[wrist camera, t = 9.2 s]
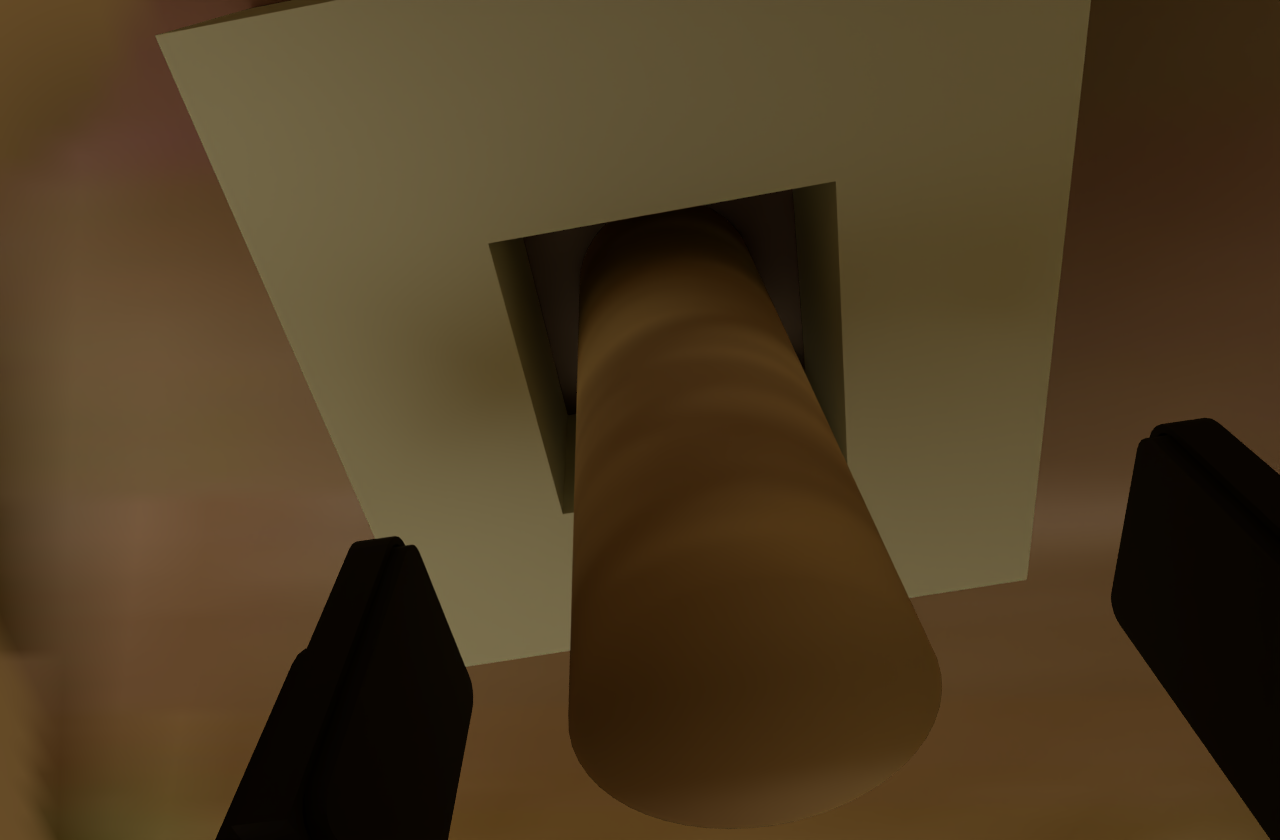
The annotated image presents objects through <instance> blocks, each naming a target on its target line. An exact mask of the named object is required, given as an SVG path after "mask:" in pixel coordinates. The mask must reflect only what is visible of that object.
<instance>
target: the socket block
mask: <svg viewBox="0 0 1280 840" xmlns="http://www.w3.org/2000/svg"><path fill="white" fill-rule="evenodd" d="M1090 5H1091V0H291V1H286V2H280V3H275V4H270V5H265V6H260V7H255V8H250V9H246V10H243V11H239V12H236V13H232V14H229V15H225V16H222V17H218V18H215V19H211V20H208V21H204V22H201V23H197V24H194V25H190V26H187V27H183V28H180V29H176V30H173V31H169V32H166V33H162V34H159V35H155V37H156V39H157V41H158V44H159V46H160V48H161V50H162V53H163V55H164V57H165V60H166V62H167V64H168V66H169V69H170V71H171V73H172V76H173V78H174V80H175V82H176V85H177V87H178V89H179V92H180V94H181V96H182V98H183V101H184V103H185V105H186V108H187V110H188V112H189V114H190V117H191V119H192V121H193V124H194V126H195V128H196V130H197V133H198V135H199V137H200V140H201V142H202V144H203V146H204V149H205V151H206V153H207V156H208V158H209V160H210V162H211V165H212V167H213V169H214V172H215V174H216V176H217V178H218V181H219V183H220V185H221V188H222V190H223V192H224V194H225V197H226V199H227V201H228V204H229V206H230V208H231V210H232V213H233V215H234V217H235V219H236V222H237V224H238V226H239V229H240V231H241V233H242V235H243V238H244V240H245V242H246V245H247V247H248V249H249V251H250V254H251V256H252V258H253V261H254V263H255V265H256V267H257V270H258V272H259V274H260V277H261V279H262V281H263V283H264V286H265V288H266V290H267V293H268V295H269V297H270V299H271V302H272V304H273V306H274V309H275V311H276V313H277V315H278V318H279V320H280V322H281V325H282V327H283V329H284V331H285V334H286V336H287V338H288V341H289V343H290V345H291V347H292V350H293V352H294V354H295V357H296V359H297V361H298V363H299V366H300V368H301V370H302V373H303V375H304V377H305V379H306V382H307V384H308V386H309V389H310V391H311V393H312V395H313V398H314V400H315V402H316V404H317V407H318V409H319V411H320V414H321V416H322V418H323V420H324V423H325V425H326V427H327V430H328V432H329V434H330V436H331V439H332V441H333V443H334V446H335V448H336V450H337V452H338V455H339V457H340V459H341V462H342V464H343V466H344V468H345V471H346V473H347V475H348V478H349V480H350V482H351V484H352V487H353V489H354V491H355V494H356V496H357V498H358V500H359V503H360V505H361V507H362V510H363V512H364V514H365V516H366V519H367V521H368V523H369V526H370V528H371V530H372V532H373V535H374V537H375V539H378V538H385V537H391V536H397V537H400V538H401V539H402V540H403V542H404V544H405V545H415V546H416V547H417V548H418V550H419V552H420V555H421V557H422V560H423V562H424V565H425V567H426V570H427V572H428V575H429V577H430V580H431V582H432V585H433V587H434V590H435V592H436V595H437V597H438V600H439V602H440V604H441V607H442V609H443V612H444V614H445V617H446V619H447V622H448V624H449V627H450V629H451V632H452V634H453V637H454V639H455V642H456V644H457V647H458V649H459V652H460V654H461V657H462V659H463V662H464V664H465V667H467V666H474V665H480V664H487V663H493V662H499V661H506V660H512V659H519V658H525V657H532V656H538V655H545V654H551V653H557V652H564V651H570V637H571V599H572V561H573V523H574V485H575V447H576V414H572V415H568V414H567V410H566V406H565V402H564V398H563V394H562V391H561V387H560V383H559V379H558V375H557V371H556V367H555V363H554V359H553V355H552V351H551V347H550V343H549V339H548V335H547V331H546V327H545V323H544V319H543V315H542V311H541V307H540V303H539V299H538V295H537V291H536V287H535V283H534V279H533V275H532V271H531V267H530V263H529V259H528V255H527V251H526V247H525V243H524V239H523V237H527V236H533V235H538V234H544V233H549V232H555V231H561V230H566V229H572V228H577V227H583V226H589V225H594V224H600V223H605V222H611V221H616V220H622V219H628V218H633V217H639V216H644V215H650V214H656V213H661V212H667V211H672V210H678V209H683V208H689V207H695V206H700V205H706V204H711V203H717V202H722V201H728V200H734V199H739V198H745V197H750V196H756V195H762V194H767V193H773V192H778V191H784V190H789V189H793V203H794V218H795V232H796V247H797V261H798V276H799V290H800V305H801V319H802V334H803V348H804V363H805V374H806V376H807V378H808V381H809V383H810V385H811V387H812V389H813V391H814V393H815V396H816V398H817V400H818V402H819V404H820V406H821V409H822V411H823V413H824V415H825V417H826V419H827V422H828V424H829V426H830V428H831V430H832V432H833V435H834V437H835V439H836V441H837V443H838V445H839V448H840V450H841V452H842V454H843V456H844V458H845V461H846V463H847V465H848V467H849V469H850V471H851V473H852V476H853V478H854V480H855V482H856V484H857V486H858V489H859V491H860V493H861V495H862V497H863V499H864V502H865V504H866V506H867V508H868V510H869V512H870V515H871V517H872V519H873V521H874V523H875V525H876V528H877V530H878V532H879V534H880V536H881V538H882V540H883V543H884V545H885V547H886V549H887V551H888V553H889V556H890V558H891V560H892V562H893V564H894V566H895V569H896V571H897V573H898V575H899V577H900V579H901V582H902V584H903V586H904V588H905V590H906V592H907V595H908V597H909V598H912V597H918V596H925V595H931V594H938V593H944V592H951V591H957V590H964V589H970V588H976V587H983V586H989V585H996V584H1002V583H1009V582H1015V581H1022V580H1027V574H1028V565H1029V556H1030V547H1031V538H1032V528H1033V519H1034V510H1035V501H1036V492H1037V483H1038V474H1039V465H1040V456H1041V447H1042V438H1043V429H1044V420H1045V411H1046V402H1047V393H1048V384H1049V375H1050V366H1051V357H1052V348H1053V339H1054V330H1055V321H1056V312H1057V303H1058V294H1059V285H1060V276H1061V267H1062V257H1063V248H1064V239H1065V230H1066V221H1067V212H1068V203H1069V194H1070V185H1071V176H1072V167H1073V158H1074V149H1075V140H1076V131H1077V122H1078V113H1079V104H1080V95H1081V86H1082V77H1083V68H1084V59H1085V50H1086V41H1087V32H1088V23H1089V14H1090Z"/></svg>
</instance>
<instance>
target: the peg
mask: <svg viewBox="0 0 1280 840" xmlns="http://www.w3.org/2000/svg"><path fill="white" fill-rule="evenodd" d="M941 694H942V680H941V672H940V668H939V664H938V660H937V657H936V655H935V653H934V651H933V649H932V646H931V644H930V642H929V640H928V638H927V636H926V633H925V631H924V629H923V627H922V625H921V623H920V620H919V618H918V616H917V614H916V612H915V610H914V608H913V605H912V603H911V601H910V599H909V597H908V595H907V592H906V590H905V588H904V586H903V584H902V582H901V579H900V577H899V575H898V573H897V571H896V569H895V566H894V564H893V562H892V560H891V558H890V556H889V553H888V551H887V549H886V547H885V545H884V543H883V540H882V538H881V536H880V534H879V532H878V530H877V528H876V525H875V523H874V521H873V519H872V517H871V515H870V512H869V510H868V508H867V506H866V504H865V502H864V499H863V497H862V495H861V493H860V491H859V489H858V486H857V484H856V482H855V480H854V478H853V476H852V473H851V471H850V469H849V467H848V465H847V463H846V461H845V458H844V456H843V454H842V452H841V450H840V448H839V445H838V443H837V441H836V439H835V437H834V435H833V432H832V430H831V428H830V426H829V424H828V422H827V419H826V417H825V415H824V413H823V411H822V409H821V406H820V404H819V402H818V400H817V398H816V396H815V393H814V391H813V389H812V387H811V385H810V383H809V381H808V378H807V376H806V374H805V372H804V370H803V368H802V365H801V363H800V361H799V359H798V357H797V355H796V352H795V350H794V348H793V346H792V344H791V342H790V339H789V337H788V335H787V333H786V331H785V329H784V326H783V324H782V322H781V320H780V318H779V316H778V314H777V311H776V309H775V307H774V305H773V303H772V301H771V298H770V296H769V294H768V292H767V290H766V288H765V285H764V283H763V281H762V279H761V277H760V275H759V272H758V270H757V268H756V266H755V264H754V262H753V259H752V257H751V255H750V253H749V251H748V249H747V247H746V245H745V243H744V241H743V239H742V237H741V236H740V234H739V233H738V231H737V230H736V229H735V228H734V227H733V226H732V224H731V223H730V222H729V221H727V220H726V219H725V218H724V217H723V216H721V215H720V214H718V213H717V212H715V211H714V210H712V209H710V208H708V207H706V206H703V205H700V206H695V207H689V208H683V209H678V210H672V211H667V212H661V213H656V214H650V215H644V216H639V217H633V218H628V219H622V220H616V221H611V222H608V223H607V224H606V225H605V226H604V227H603V228H602V229H601V230H600V231H599V233H598V234H597V235H596V236H595V238H594V239H593V241H592V243H591V244H590V246H589V248H588V250H587V252H586V255H585V257H584V260H583V264H582V267H581V274H580V294H579V332H578V370H577V409H576V447H575V485H574V523H573V561H572V599H571V637H570V675H569V713H568V717H569V734H570V739H571V743H572V747H573V749H574V752H575V754H576V756H577V758H578V761H579V762H580V764H581V765H582V767H583V768H584V770H585V771H586V773H587V774H588V775H589V776H590V777H591V778H592V780H593V781H594V782H595V783H596V784H597V785H598V786H599V787H600V788H602V789H603V790H604V791H605V792H607V793H608V794H609V795H611V796H612V797H613V798H615V799H616V800H618V801H620V802H621V803H623V804H625V805H627V806H628V807H630V808H632V809H635V810H637V811H639V812H642V813H644V814H646V815H649V816H652V817H655V818H658V819H661V820H664V821H668V822H673V823H678V824H682V825H687V826H695V827H703V828H718V829H741V828H756V827H765V826H773V825H778V824H784V823H789V822H794V821H797V820H801V819H805V818H809V817H812V816H815V815H818V814H821V813H824V812H827V811H830V810H832V809H835V808H837V807H839V806H842V805H844V804H846V803H848V802H851V801H853V800H855V799H857V798H858V797H860V796H862V795H864V794H866V793H867V792H869V791H871V790H872V789H874V788H875V787H877V786H878V785H880V784H881V783H883V782H884V781H886V780H887V779H888V778H890V777H891V776H892V775H893V774H894V773H896V772H897V771H898V770H899V769H900V768H901V767H903V766H904V765H905V763H906V762H907V761H908V760H909V759H910V758H911V757H912V756H913V755H914V754H915V753H916V752H917V750H918V749H919V747H920V746H921V745H922V743H923V742H924V741H925V739H926V738H927V736H928V734H929V732H930V730H931V728H932V726H933V724H934V722H935V720H936V717H937V713H938V710H939V707H940V702H941Z"/></svg>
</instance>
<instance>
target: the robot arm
mask: <svg viewBox="0 0 1280 840" xmlns="http://www.w3.org/2000/svg"><path fill="white" fill-rule="evenodd" d="M1111 602H1112V607H1113V611H1114V614H1115V616H1116V619H1117V621H1118V622H1119V624H1120V626H1121V627H1122V628H1123V630H1124V631H1125V633H1126V634H1127V636H1128V637H1129V638H1130V640H1131V641H1132V643H1133V644H1134V646H1135V647H1136V648H1137V650H1138V651H1139V653H1140V654H1141V656H1142V657H1143V658H1144V660H1145V661H1146V663H1147V664H1148V666H1149V667H1150V668H1151V670H1152V671H1153V673H1154V674H1155V676H1156V677H1157V678H1158V680H1159V681H1160V683H1161V684H1162V686H1163V687H1164V688H1165V690H1166V691H1167V693H1168V694H1169V696H1170V697H1171V698H1172V700H1173V701H1174V703H1175V704H1176V705H1177V707H1178V708H1179V710H1180V711H1181V713H1182V714H1183V715H1184V717H1185V718H1186V720H1187V721H1188V723H1189V724H1190V725H1191V727H1192V728H1193V730H1194V731H1195V733H1196V734H1197V735H1198V737H1199V738H1200V740H1201V741H1202V743H1203V744H1204V745H1205V747H1206V748H1207V750H1208V751H1209V753H1210V754H1211V755H1212V757H1213V758H1214V760H1215V761H1216V763H1217V764H1218V765H1219V767H1220V768H1221V770H1222V771H1223V773H1224V774H1225V775H1226V777H1227V778H1228V780H1229V781H1230V783H1231V784H1232V785H1233V787H1234V788H1235V790H1236V791H1237V793H1238V794H1239V795H1240V797H1241V798H1242V800H1243V801H1244V802H1245V804H1246V805H1247V807H1248V808H1249V810H1250V811H1251V812H1252V814H1253V815H1254V817H1255V818H1256V820H1257V821H1258V822H1259V824H1260V825H1261V827H1262V828H1263V830H1264V831H1265V832H1266V834H1267V835H1268V837H1269V838H1270V840H1280V475H1279V474H1278V473H1277V472H1276V471H1274V470H1273V469H1272V468H1271V467H1270V466H1269V465H1267V464H1266V463H1265V462H1264V461H1263V460H1262V459H1260V458H1259V457H1258V456H1257V455H1256V454H1255V453H1253V452H1252V451H1251V450H1250V449H1249V448H1248V447H1246V446H1245V445H1244V444H1243V443H1242V442H1240V441H1239V440H1238V439H1237V438H1236V437H1235V436H1233V435H1232V434H1231V433H1230V432H1229V431H1228V430H1226V429H1225V428H1224V427H1223V426H1222V425H1221V424H1219V423H1218V422H1216V421H1215V420H1213V419H1210V418H1201V419H1194V420H1187V421H1180V422H1173V423H1166V424H1160V425H1158V426H1156V427H1155V428H1154V429H1153V431H1152V432H1151V435H1150V438H1145V439H1143V440H1141V442H1140V443H1139V445H1138V448H1137V453H1136V459H1135V464H1134V470H1133V475H1132V481H1131V487H1130V492H1129V498H1128V503H1127V509H1126V514H1125V520H1124V526H1123V531H1122V537H1121V542H1120V548H1119V553H1118V559H1117V564H1116V570H1115V576H1114V581H1113V587H1112V592H1111ZM472 707H473V689H472V683H471V680H470V677H469V674H468V672H467V669H466V667H465V664H464V662H463V659H462V657H461V654H460V652H459V649H458V647H457V644H456V642H455V639H454V637H453V634H452V632H451V629H450V627H449V624H448V622H447V619H446V617H445V614H444V612H443V609H442V607H441V604H440V602H439V600H438V597H437V595H436V592H435V590H434V587H433V585H432V582H431V580H430V577H429V575H428V572H427V570H426V567H425V565H424V562H423V560H422V557H421V555H420V552H419V550H418V548H417V547H416V546H415V545H405V544H404V542H403V540H402V539H401V538H400V537H397V536H391V537H385V538H378V539H371V540H364V541H357V542H355V543H353V544H352V546H351V547H350V549H349V551H348V553H347V556H346V558H345V560H344V563H343V565H342V567H341V570H340V572H339V574H338V577H337V579H336V582H335V584H334V586H333V589H332V591H331V593H330V596H329V598H328V600H327V603H326V605H325V607H324V610H323V612H322V614H321V617H320V619H319V621H318V624H317V626H316V628H315V631H314V633H313V635H312V638H311V640H310V642H309V645H308V647H307V649H304V650H303V651H302V652H301V653H299V654H298V655H297V657H296V659H295V660H294V662H293V664H292V666H291V668H290V670H289V673H288V675H287V677H286V679H285V682H284V684H283V686H282V689H281V691H280V693H279V695H278V698H277V700H276V702H275V705H274V707H273V709H272V711H271V714H270V716H269V718H268V721H267V723H266V725H265V727H264V730H263V732H262V734H261V737H260V739H259V741H258V743H257V746H256V748H255V750H254V752H253V755H252V757H251V759H250V762H249V764H248V766H247V768H246V771H245V773H244V775H243V778H242V780H241V782H240V784H239V787H238V789H237V791H236V794H235V796H234V798H233V800H232V803H231V805H230V807H229V810H228V812H227V814H226V816H225V819H224V821H223V823H222V826H221V828H220V830H219V832H218V835H217V837H216V839H215V840H448V836H449V831H450V825H451V820H452V815H453V809H454V804H455V799H456V793H457V788H458V783H459V777H460V772H461V767H462V761H463V756H464V750H465V745H466V740H467V734H468V729H469V724H470V718H471V713H472Z"/></svg>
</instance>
